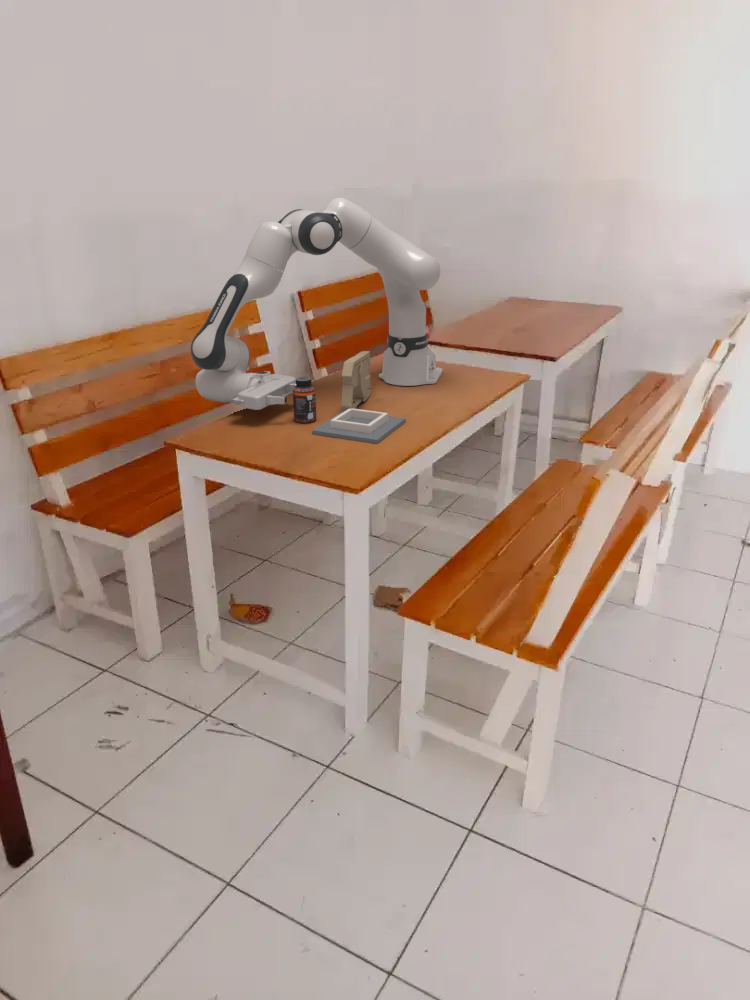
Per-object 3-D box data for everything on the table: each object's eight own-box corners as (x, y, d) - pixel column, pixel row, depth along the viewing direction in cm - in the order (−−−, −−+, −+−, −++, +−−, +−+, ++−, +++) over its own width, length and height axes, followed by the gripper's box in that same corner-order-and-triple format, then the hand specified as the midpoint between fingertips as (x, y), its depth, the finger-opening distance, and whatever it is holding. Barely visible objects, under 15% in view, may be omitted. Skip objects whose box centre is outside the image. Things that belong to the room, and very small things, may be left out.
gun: (352, 421, 208) (351, 364, 203) (340, 420, 209) (339, 364, 204) (371, 402, 231) (371, 350, 226) (360, 401, 231) (360, 350, 226)
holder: (344, 413, 213) (344, 402, 212) (405, 421, 206) (405, 410, 205) (312, 434, 198) (311, 422, 197) (377, 443, 191) (377, 432, 190)
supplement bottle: (317, 423, 206) (316, 381, 202) (295, 424, 205) (292, 382, 201) (315, 415, 212) (313, 374, 207) (293, 417, 211) (291, 376, 206)
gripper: (226, 388, 203) (272, 394, 197) (268, 369, 220) (312, 374, 214) (229, 412, 205) (274, 418, 200) (270, 391, 222) (313, 396, 217)
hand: (294, 395), depth 207 cm, fingers open, 8 cm apart
